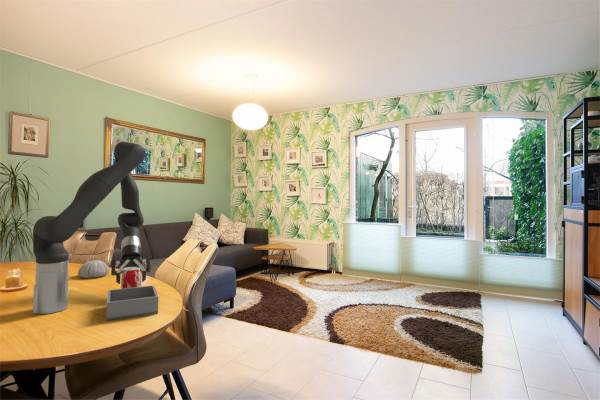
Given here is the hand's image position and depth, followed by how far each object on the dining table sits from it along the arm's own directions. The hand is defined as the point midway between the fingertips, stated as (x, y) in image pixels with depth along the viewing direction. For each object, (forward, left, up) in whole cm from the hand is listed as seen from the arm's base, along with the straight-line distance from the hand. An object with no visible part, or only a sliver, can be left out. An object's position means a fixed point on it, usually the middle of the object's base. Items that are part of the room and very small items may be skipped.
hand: (131, 281), depth 126 cm
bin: (0, -14, -7) cm, 16 cm away
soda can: (0, +1, -7) cm, 7 cm away
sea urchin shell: (-15, +46, -7) cm, 49 cm away
